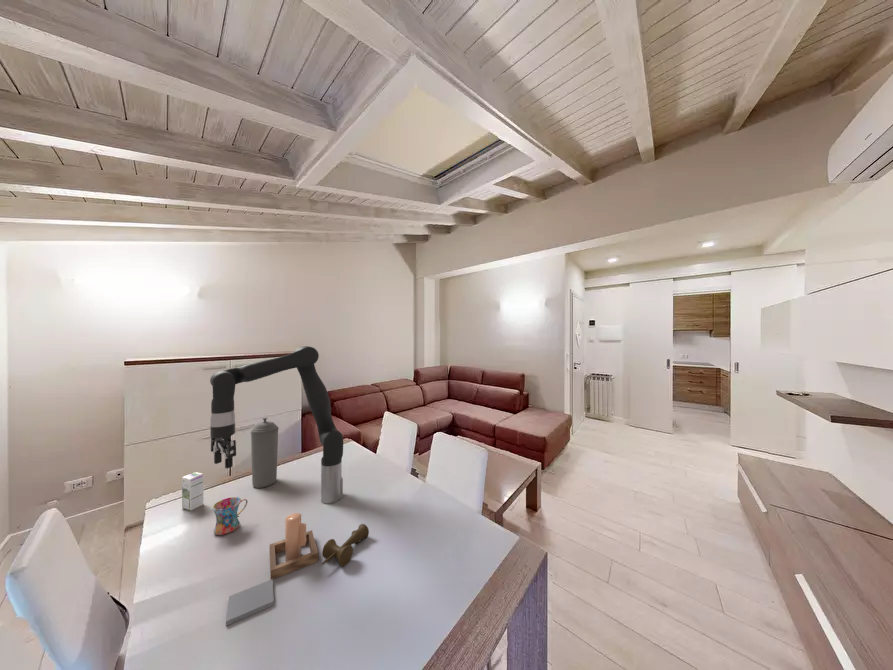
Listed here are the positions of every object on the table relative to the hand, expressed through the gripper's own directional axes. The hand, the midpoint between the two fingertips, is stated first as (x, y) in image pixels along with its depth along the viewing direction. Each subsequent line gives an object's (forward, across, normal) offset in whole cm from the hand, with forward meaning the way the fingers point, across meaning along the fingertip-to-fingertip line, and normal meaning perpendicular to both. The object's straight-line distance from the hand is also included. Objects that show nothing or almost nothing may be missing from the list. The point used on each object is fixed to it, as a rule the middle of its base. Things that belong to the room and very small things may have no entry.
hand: (223, 465), depth 110 cm
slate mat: (+29, -38, +9) cm, 48 cm away
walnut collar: (+29, -32, -8) cm, 44 cm away
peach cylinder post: (+29, -32, -8) cm, 44 cm away
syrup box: (+29, +38, -4) cm, 48 cm away
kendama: (+29, -46, -18) cm, 58 cm away
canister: (+29, +31, -32) cm, 53 cm away
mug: (+29, +6, -5) cm, 30 cm away
